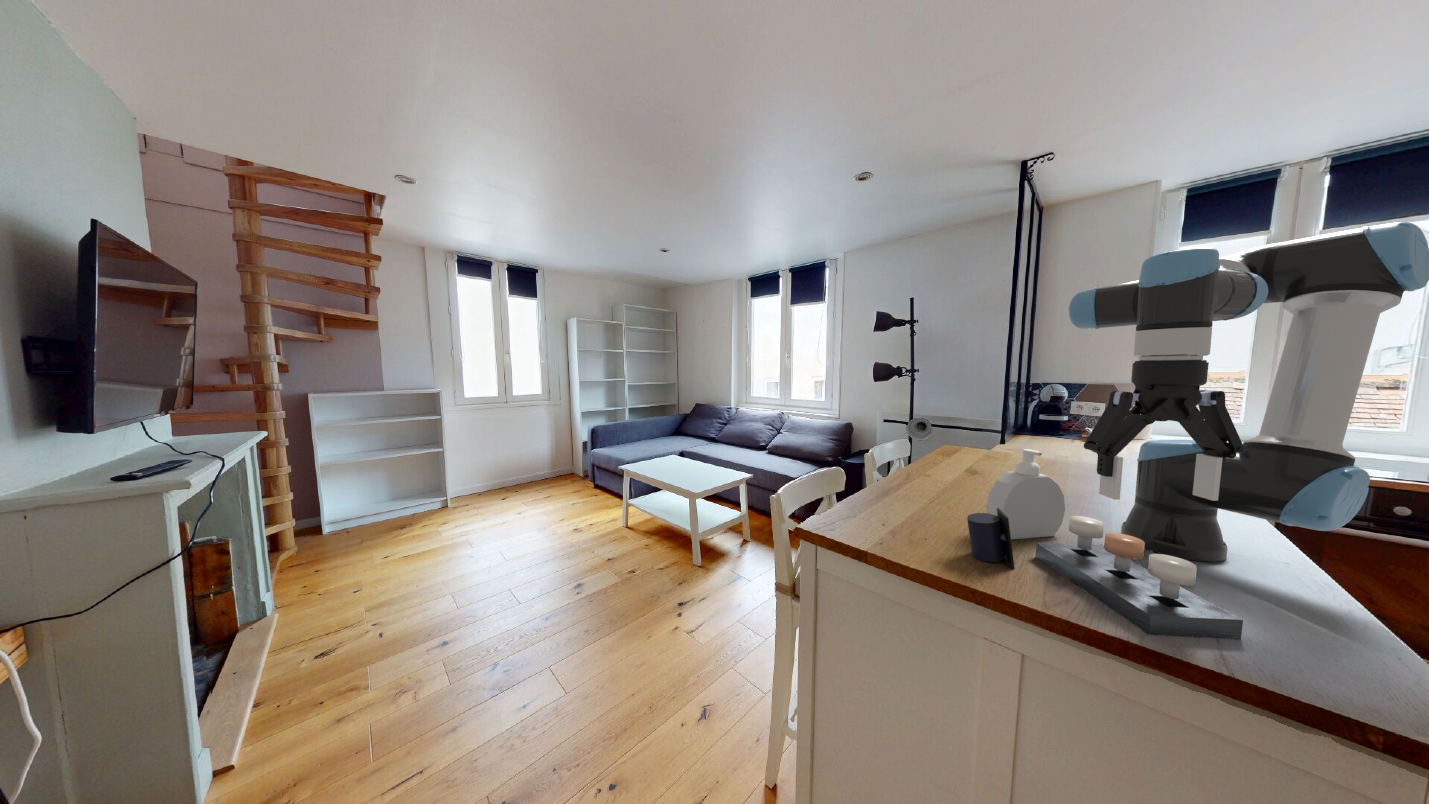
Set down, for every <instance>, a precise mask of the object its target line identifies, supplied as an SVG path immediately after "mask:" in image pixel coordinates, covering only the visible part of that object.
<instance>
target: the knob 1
mask: <svg viewBox="0 0 1429 804" xmlns="http://www.w3.org/2000/svg"><path fill="white" fill-rule="evenodd" d="M1104 525H1105V524H1104V522H1103V521H1101V520H1099V519H1096V518H1092V517H1088V516H1082V515H1071V516H1069V527H1068V530H1069V532H1070V533H1071V534H1074V535H1077V536H1078V537H1077V544H1078V545H1077V547H1078V548H1080V549H1083V550H1091V549H1092V544H1093V539H1103V537H1104V536H1103V535H1104Z"/></svg>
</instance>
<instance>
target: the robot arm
mask: <svg viewBox="0 0 1429 804" xmlns="http://www.w3.org/2000/svg"><path fill="white" fill-rule="evenodd" d="M1141 264H1142V265H1141V270H1140V275H1139V279H1138V280H1133V281H1129V282H1124V283H1119V284H1114V285H1109V286H1103V287H1102V286H1101V287H1093V288H1091V289H1085V290H1081V291H1078V292H1077V293H1076V294H1075V295H1074V296H1073V297H1072V298H1071V300H1070V303H1069V306H1068V313H1069V314H1068V317H1069V320H1070V322H1071V323H1072V325H1073V326H1074V327H1076V328H1078V329H1081V330H1082V329H1088V330H1089V329H1096V330H1097V329H1098V330H1099V329H1104V328H1105V329H1107V328H1116V327H1125V326H1135V335H1134V347H1133V356H1134V357H1135V358H1136V357H1137V358H1138V360H1135V361H1134V362H1132V365H1131V366H1132V368H1131V379H1130V380H1131V383H1132V384H1133V385H1134V390H1133V392H1132V391H1122V390H1113V391H1111V392H1110V394H1109V399H1108V403H1107V405H1106V407H1105V409H1104V411H1103V412H1102V414H1101V415H1100V417H1099V419H1098V421H1097V422H1096V424H1095V426H1094V427H1093V429H1092V431H1090V433H1089V435H1088V436H1087V439H1086V440H1085V441H1084V443H1083V448H1084V449H1085V450H1088V451H1091V452H1093V453H1094V454H1095V453H1096V454H1097V461H1096V462H1097V463H1096V473H1097V475H1099V486H1098V487H1099V491H1098V495H1101V496H1104V497H1107V498H1110V499H1112V500H1116V501H1117V500H1120V499H1121V490H1122V489H1121V487H1122V477H1123V467H1124V466H1123V465H1124V463H1123V462H1124V457H1122V456H1118V455H1119V453H1121V452H1122V451H1123V450H1124V449H1125V448H1126V447H1127V446H1128V445H1129V443H1130V442H1132V441H1133V440H1134V439H1135V438H1136V437H1137V436H1138V435H1139V434H1140V433H1141V432H1142V431H1143V430H1144V429H1145V428H1146V427H1147V426H1148V425H1152V424H1153V423H1155V422H1167V421H1171V422H1177V423H1178V424H1180V426H1181V427H1182V428H1183V430H1184V431H1186V433H1187V434H1188V435H1189V436H1190V437H1191V439H1155V440H1154V439H1153V440H1147V441H1145V442H1144V443H1142V444H1141V445H1140V448H1139V453H1138V458H1137V459H1136V462H1137V470H1136V481H1135V484H1136V485H1135V496H1134V504H1133V506H1132V508H1131V509H1130V511H1129V514H1128V516H1127V517H1126V520H1125V521H1123V522H1122V524H1121V526H1120V527H1121V529H1120V534H1125V535H1129V536H1133V537H1136V538H1139V539H1141V540H1143V541H1144V542H1145V546H1144V550H1148V551H1151V552H1154V553H1156V554H1163V555H1169V556H1174V557H1178V558H1181V559H1184V560H1188V561H1189V560H1190V561H1197V562H1198V561H1199V562H1208V563H1211V562H1212V563H1213V562H1223V561H1225V560H1227V558H1228V545H1227V543H1226V542H1225V541H1224V539H1223V538H1224V537H1223V534H1222V533H1223V532H1222V530H1221V527H1220V524H1219V522H1218V521H1219V520H1218V510H1222V511H1227V512H1232V513H1235V514H1236V513H1237V514H1241V515H1244V516H1248V517H1249V516H1250V517H1253V518H1257V519H1262V520H1266V521H1270V522H1275V523H1278V524H1279V523H1280V524H1282V525H1284V526H1287V527H1299V528H1304V529H1309V530H1313V531H1321V532H1328V531H1329V532H1330V531H1335V530H1337V529H1340V528H1342V527H1343V526H1346V525H1347V524H1348V523H1349V522H1350V521H1351V520H1352V519H1354V517H1356V515H1357V514H1358V513H1359V512H1360V510H1361V508H1362V507H1363V505H1364V503H1365V501H1366V498H1367V496H1368V493H1369V489H1370V488H1369V485H1370V483H1371V477H1370V474H1369V472H1368V471H1367V470H1365V469H1363V468H1360V467H1359V466H1355V462H1356V457H1355V456H1354V455H1353V454H1352V453H1350V452H1349V451H1348V450H1346V449H1345V448H1344V445H1343V443H1344V441H1345V438H1346V434H1347V431H1348V430H1347V429H1348V425H1349V424H1350V420H1351V415H1352V412H1353V409H1354V405H1355V402H1356V398H1357V395H1358V393H1359V392H1358V391H1359V388H1360V384H1361V381H1362V378H1363V374H1364V370H1365V367H1366V364H1367V360H1368V358H1369V357H1368V356H1369V353H1370V349H1371V346H1372V343H1373V339H1374V335H1375V332H1376V330H1377V326H1378V322H1379V318H1380V316H1381V314H1382V313H1384V312H1386V311H1388V310H1391V309H1393V308H1395V307H1397V306H1399V305H1400V304H1401V302H1402V297H1403V294H1404V292H1415V291H1416V290H1420V289H1423V288H1425V287H1426V286H1427V284H1428V282H1429V244H1428V241H1427V238H1426V235H1425V233H1424V232H1423V231H1422V229H1421V227H1419V226H1418V225H1416V224H1415V223H1412V222H1407V221H1399V222H1398V221H1397V222H1392V223H1391V222H1390V223H1385V224H1378V225H1371V226H1370V225H1364V226H1362V227H1360V228H1355V229H1354V228H1353V229H1349V230H1344V231H1337V232H1333V233H1327V234H1322V235H1315V236H1310V237H1305V238H1299V239H1291V240H1288V241H1282V242H1275V243H1268V244H1265V245H1261V246H1258V247H1257V246H1256V247H1253V248H1250V249H1246V250H1243V251H1240V252H1236V253H1232V254H1230V255H1229V254H1228V255H1226V256H1223V257H1220V252H1219V250H1218V249H1217V248H1214V247H1192V248H1191V247H1190V248H1185V249H1184V248H1182V249H1175V250H1171V251H1166V252H1161V253H1157V254H1154V255H1151V256H1149V257H1148V258H1146V259H1145V260H1144V261H1143V263H1141ZM1273 303H1282V305H1281V307H1282V308H1283V309H1284V310H1286V311H1287V312H1289V313H1291V315H1292V318H1291V322H1290V325H1289V329H1288V332H1287V336H1286V339H1285V343H1284V346H1283V349H1282V353H1281V357H1280V361H1279V363H1278V366H1277V371H1276V373H1275V377H1274V382H1273V384H1272V388H1271V390H1270V391H1271V392H1270V395H1269V399H1268V402H1267V405H1266V409H1265V413H1264V416H1263V419H1262V424H1261V426H1260V429H1259V433H1258V435H1256V436H1255V437H1251V438H1249V439H1246V440H1244V441H1243V442H1242V439H1241V437H1240V435H1239V432H1238V431H1237V429H1236V427H1235V424H1234V422H1233V419H1232V417H1231V415H1230V413H1229V410H1228V409H1227V406H1226V393H1225V392H1224V391H1223V390H1208V389H1201V390H1200V387H1201V386H1204V385H1206V384H1207V382H1208V373H1209V362H1208V361H1207V359H1204V356H1205V357H1206V356H1209V355H1210V354H1211V348H1212V347H1211V345H1212V337H1213V336H1212V335H1213V322H1220V321H1230V320H1236V319H1240V318H1243V317H1246V316H1248V315H1250V314H1252V313H1253V312H1255V311H1256V310H1258V309H1259V308H1261V306H1262V305H1263V304H1273ZM1132 406H1133V407H1132ZM1197 406H1198V407H1197Z"/></svg>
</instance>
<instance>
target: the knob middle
mask: <svg viewBox="0 0 1429 804" xmlns="http://www.w3.org/2000/svg"><path fill="white" fill-rule="evenodd" d="M1104 534H1105V535H1104V545H1103V546H1104V549H1105V550H1106V551H1107V552H1109V553H1111V554H1114V555H1115V558H1114V568H1115V569H1117V570H1120V571H1123V572H1130V567H1131V561H1132V560H1142V559H1144V557H1145V556H1144V555H1145V549H1144V546H1145V542H1144V541H1143V540H1141V539H1139V538H1136V537H1133V536H1129V535H1125V534H1121V532H1120V533H1118V532H1107V533H1104Z"/></svg>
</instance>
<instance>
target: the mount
mask: <svg viewBox="0 0 1429 804" xmlns="http://www.w3.org/2000/svg"><path fill="white" fill-rule="evenodd" d="M1035 543H1036V544H1035V546H1036V547H1035V558H1036V559H1038V560H1040V562H1041V563H1044V564H1045V565H1046V566H1048V567H1050V568H1051V569H1053V570H1054V571H1055V572H1056V573H1058V574H1060V575H1061V576H1063V577H1064V578H1065V579H1067V580H1068V581H1070V582H1071V583H1073V584H1074V585H1075V586H1077V587H1078V588H1080V589H1082V590H1083V591H1085V592H1086V593H1088V594H1089V595H1090V596H1092V597H1093V598H1094V599H1097V601H1099V602H1100V603H1102V604H1103V605H1105V606H1106V607H1107V608H1109V609H1110V610H1112V611H1114V612H1115V613H1116V614H1117V615H1119V616H1120V617H1122V618H1124V619H1125V620H1126V621H1127V622H1129V623H1131V624H1132V625H1134V626H1135V627H1137V628H1138V629H1139V630H1141V631H1143V632H1144V633H1145V634H1147V635H1148V636H1159V637H1160V636H1161V637H1162V636H1163V637H1180V638H1182V637H1183V638H1199V639H1201V638H1202V639H1203V638H1204V639H1220V640H1221V639H1223V640H1226V639H1227V640H1242V637H1243V636H1242V634H1243V629H1244V628H1243V627H1244V619H1242V618H1241V617H1239V616H1236V615H1235V614H1233V613H1231V612H1229V611H1227V610H1226V609H1223V608H1221V607H1220V606H1218V605H1215V604H1214V603H1212V602H1210V601H1208V600H1206V599H1204V598H1202V597H1201V596H1198V595H1197V594H1195V593H1193V592H1191V591H1189V590H1187V589H1185V588H1183V587H1182V586H1180V592H1179V599H1171V598H1167V597H1165V596H1163V595H1161V594H1160V593H1159V590H1160V580H1161V579H1158V578H1156V577H1154V576H1152V575H1151V574H1149V573H1148V568H1145V567H1144V566H1141V565H1140V564H1137V563H1136V562H1134V561H1132V560H1131V567H1130V572H1123V571H1120V570H1117V569H1115V568H1114V558H1115V555H1114V554H1111V553H1109V552H1107V551H1106V550H1105V549H1104V545H1101V544H1093V543H1092V549H1091V550H1083V549H1080V548H1078V547H1077V545H1078V543H1053V542H1050V543H1049V542H1035Z"/></svg>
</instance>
